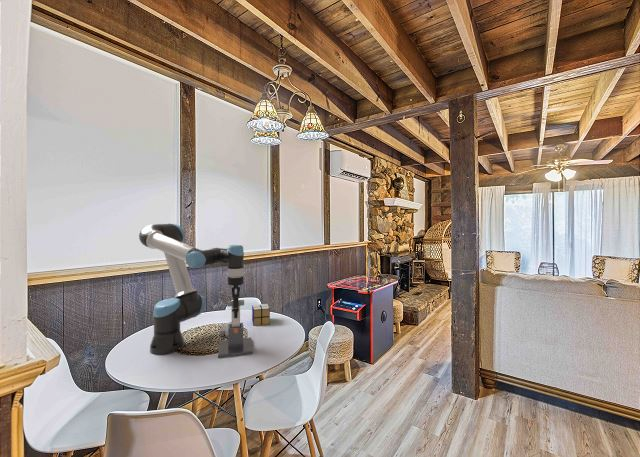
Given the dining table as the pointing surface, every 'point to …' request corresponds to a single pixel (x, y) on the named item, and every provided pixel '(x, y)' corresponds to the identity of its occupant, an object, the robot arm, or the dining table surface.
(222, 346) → the jack stand base
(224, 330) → the bunny figurine
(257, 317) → the puzzle cube
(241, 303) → the post
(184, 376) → the dining table surface
